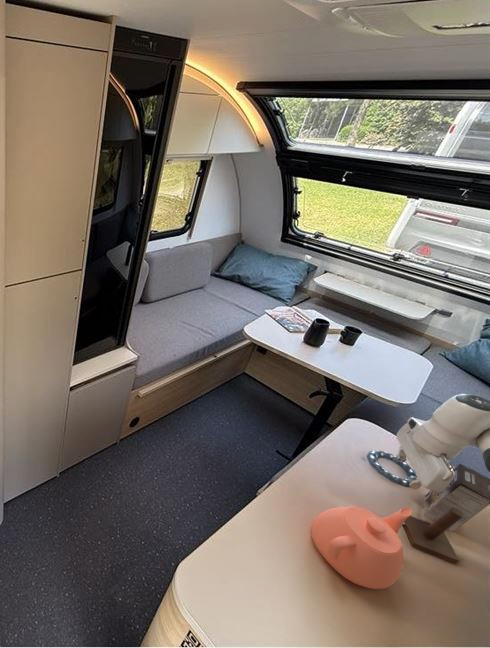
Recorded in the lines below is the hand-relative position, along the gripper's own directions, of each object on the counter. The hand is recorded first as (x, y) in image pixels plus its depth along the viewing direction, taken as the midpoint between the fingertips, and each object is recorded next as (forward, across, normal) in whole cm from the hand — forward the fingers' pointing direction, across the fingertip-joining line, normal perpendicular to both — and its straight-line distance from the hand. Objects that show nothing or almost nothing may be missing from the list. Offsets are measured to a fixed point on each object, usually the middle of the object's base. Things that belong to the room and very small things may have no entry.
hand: (405, 472), depth 105 cm
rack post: (+5, -17, -1) cm, 18 cm away
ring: (+4, +5, 0) cm, 6 cm away
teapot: (+6, -31, +19) cm, 37 cm away
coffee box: (+5, -7, -7) cm, 12 cm away
